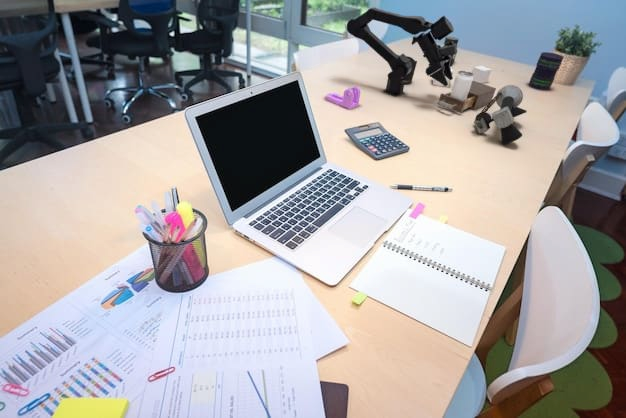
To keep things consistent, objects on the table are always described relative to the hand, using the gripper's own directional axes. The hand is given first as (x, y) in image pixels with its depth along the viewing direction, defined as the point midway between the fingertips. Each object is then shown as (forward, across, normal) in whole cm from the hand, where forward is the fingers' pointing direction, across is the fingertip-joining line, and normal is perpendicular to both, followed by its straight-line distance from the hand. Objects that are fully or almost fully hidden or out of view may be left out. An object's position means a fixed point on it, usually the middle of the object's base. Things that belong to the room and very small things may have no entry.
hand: (449, 82), depth 154 cm
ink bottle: (-3, +68, +16) cm, 70 cm away
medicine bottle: (+2, +27, +12) cm, 29 cm away
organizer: (+13, +12, 0) cm, 18 cm away
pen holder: (-9, +17, +23) cm, 30 cm away
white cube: (+12, +45, +1) cm, 47 cm away
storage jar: (+31, +57, -18) cm, 68 cm away
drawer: (+9, 0, +2) cm, 10 cm away
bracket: (-18, -25, +32) cm, 44 cm away
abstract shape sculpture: (+23, -10, -10) cm, 27 cm away
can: (+9, 0, +2) cm, 9 cm away
